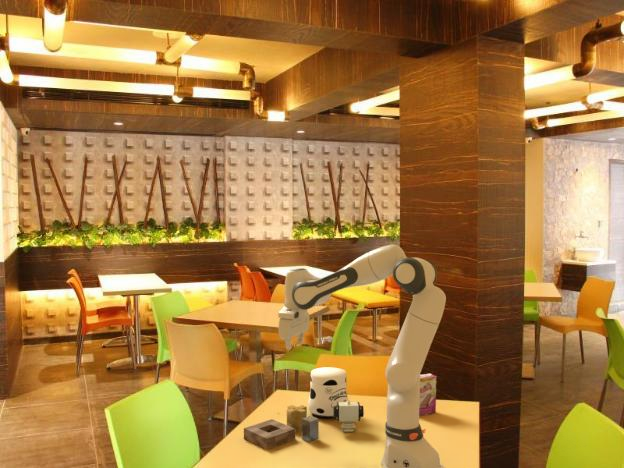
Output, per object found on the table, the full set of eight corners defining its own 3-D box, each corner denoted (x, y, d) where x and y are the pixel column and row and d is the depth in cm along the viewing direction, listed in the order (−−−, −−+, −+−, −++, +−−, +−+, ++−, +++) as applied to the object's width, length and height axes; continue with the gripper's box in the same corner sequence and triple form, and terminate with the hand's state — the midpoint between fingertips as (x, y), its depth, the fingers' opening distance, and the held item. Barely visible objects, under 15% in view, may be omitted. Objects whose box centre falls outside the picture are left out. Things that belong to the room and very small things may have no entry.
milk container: (346, 421, 247) (346, 378, 247) (304, 419, 251) (304, 376, 250) (350, 407, 264) (350, 367, 264) (312, 405, 268) (312, 365, 267)
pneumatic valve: (363, 432, 236) (363, 402, 235) (333, 433, 235) (333, 403, 235) (362, 427, 241) (362, 398, 241) (333, 427, 241) (333, 398, 240)
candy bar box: (414, 417, 253) (415, 379, 252) (408, 413, 257) (408, 375, 256) (436, 413, 257) (437, 375, 256) (429, 409, 262) (430, 372, 261)
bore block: (295, 438, 230) (295, 428, 229) (267, 449, 220) (267, 438, 220) (271, 428, 240) (271, 419, 239) (243, 438, 230) (243, 428, 230)
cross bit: (311, 428, 241) (311, 408, 240) (296, 433, 235) (296, 413, 234) (297, 422, 247) (297, 403, 246) (281, 427, 241) (281, 408, 241)
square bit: (318, 439, 229) (318, 418, 229) (309, 442, 226) (309, 421, 226) (310, 436, 233) (310, 415, 232) (301, 439, 230) (301, 418, 229)
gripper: (299, 305, 240) (298, 339, 240) (276, 313, 221) (274, 350, 222) (314, 307, 237) (312, 341, 238) (291, 315, 218) (290, 353, 219)
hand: (294, 346), depth 230 cm, fingers open, 8 cm apart
